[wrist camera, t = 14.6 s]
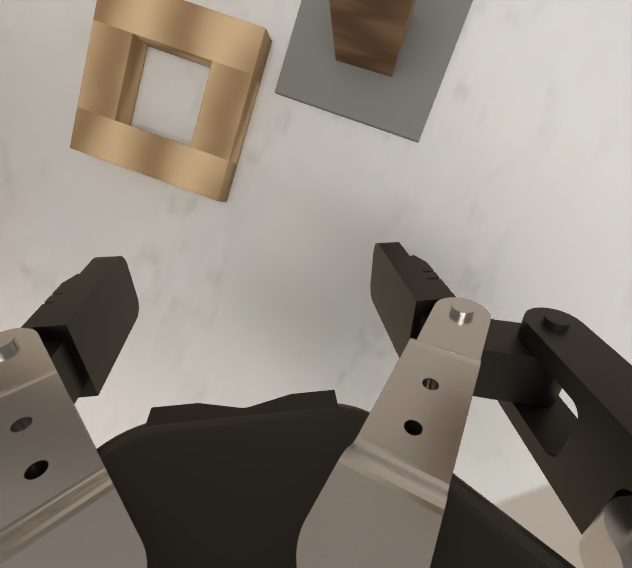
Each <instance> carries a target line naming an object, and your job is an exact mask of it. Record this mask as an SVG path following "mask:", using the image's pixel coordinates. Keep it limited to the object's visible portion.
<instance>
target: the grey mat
mask: <svg viewBox="0 0 632 568" xmlns="http://www.w3.org/2000/svg"><path fill="white" fill-rule="evenodd" d="M471 3H472V0H416V2H415V6H414V9H413V13H412V16H411V19H410V22H409V25H408V28H407V31H406V34H405V37H404V41H403V44H402V47H401V50H400V53H399V56H398V59H397V62H396V65H395V69H394V72H393V75H392V77H390V76H386V75H383V74H380V73H376V72H373V71H370V70H366V69H363V68H360V67H356V66H353V65H350V64H346V63H343V62H340V61H336V58H335V49H334V40H333V31H332V22H331V13H330V4H329V0H302V1H301V5H300V8H299V11H298V15H297V18H296V22H295V25H294V28H293V32H292V35H291V39H290V42H289V46H288V49H287V52H286V56H285V59H284V63H283V66H282V69H281V73H280V76H279V80H278V83H277V86H276V90H275V93H276V94H279V95H282V96H285V97H288V98H291V99H294V100H297V101H300V102H302V103H305V104H308V105H311V106H314V107H317V108H320V109H323V110H326V111H329V112H331V113H334V114H337V115H340V116H343V117H346V118H349V119H352V120H355V121H358V122H360V123H363V124H366V125H369V126H372V127H375V128H378V129H381V130H384V131H387V132H389V133H392V134H395V135H398V136H401V137H404V138H407V139H410V140H413V141H415V142H418V141H419V138H420V136H421V133H422V131H423V128H424V125H425V123H426V120H427V118H428V115H429V112H430V110H431V107H432V104H433V102H434V99H435V97H436V94H437V91H438V89H439V86H440V84H441V81H442V78H443V76H444V73H445V71H446V68H447V65H448V63H449V60H450V58H451V55H452V52H453V50H454V47H455V45H456V42H457V39H458V37H459V34H460V32H461V29H462V26H463V24H464V21H465V19H466V16H467V13H468V11H469V8H470V6H471Z"/></svg>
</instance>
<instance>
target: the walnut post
mask: <svg viewBox="0 0 632 568" xmlns="http://www.w3.org/2000/svg"><path fill="white" fill-rule="evenodd" d="M415 2H416V0H329V4H330V13H331V22H332V31H333V40H334V49H335V58H336V61H340V62H343V63H346V64H350V65H353V66H356V67H360V68H363V69H366V70H370V71H373V72H376V73H380V74H383V75H386V76H390V77H392V75H393V72H394V69H395V65H396V62H397V59H398V56H399V53H400V50H401V47H402V44H403V41H404V37H405V34H406V31H407V28H408V25H409V22H410V19H411V16H412V13H413V9H414V6H415Z"/></svg>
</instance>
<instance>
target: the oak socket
mask: <svg viewBox="0 0 632 568" xmlns="http://www.w3.org/2000/svg"><path fill="white" fill-rule="evenodd" d="M271 42H272V41H271V39H270V37H269V34H268V32H267V30H266V28H264V27H261V26H258V25H255V24H252V23H249V22H246V21H243V20H240V19H237V18H234V17H231V16H228V15H225V14H222V13H219V12H217V11H214V10H211V9H208V8H205V7H202V6H199V5H196V4H193V3H190V2H187V1H184V0H97V3H96V8H95V14H94V19H93V25H92V30H91V36H90V41H89V47H88V52H87V58H86V63H85V68H84V74H83V79H82V85H81V90H80V96H79V101H78V107H77V112H76V118H75V123H74V128H73V134H72V139H71V145H70V148H72V149H75V150H77V151H80V152H83V153H86V154H89V155H91V156H94V157H97V158H100V159H103V160H105V161H108V162H111V163H114V164H117V165H119V166H122V167H125V168H128V169H131V170H133V171H136V172H139V173H142V174H145V175H147V176H150V177H153V178H156V179H159V180H161V181H164V182H167V183H170V184H173V185H175V186H178V187H181V188H184V189H187V190H189V191H192V192H195V193H198V194H201V195H203V196H206V197H209V198H212V199H214V200H217V201H225V202H226V201H227V197H228V194H229V190H230V187H231V183H232V180H233V176H234V173H235V169H236V166H237V162H238V158H239V155H240V151H241V148H242V144H243V141H244V137H245V134H246V130H247V127H248V123H249V120H250V116H251V113H252V109H253V105H254V102H255V98H256V95H257V91H258V88H259V84H260V81H261V77H262V74H263V70H264V67H265V63H266V60H267V56H268V52H269V49H270V45H271ZM147 46H150V47H153V48H156V49H159V50H162V51H165V52H168V53H171V54H173V55H176V56H179V57H182V58H185V59H188V60H191V61H194V62H197V63H200V64H202V65H205V66H208V67H211V68H210V72H209V76H208V80H207V84H206V88H205V92H204V96H203V100H202V104H201V108H200V112H199V116H198V120H197V124H196V127H195V131H194V135H193V139H192V143H191V147H189V146H186V145H183V144H180V143H178V142H175V141H172V140H169V139H166V138H163V137H161V136H158V135H155V134H152V133H149V132H146V131H144V130H141V129H138V128H135V127H132V126H130V125H131V120H132V115H133V111H134V106H135V102H136V97H137V92H138V88H139V83H140V78H141V74H142V69H143V64H144V60H145V55H146V51H147Z"/></svg>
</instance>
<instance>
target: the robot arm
mask: <svg viewBox="0 0 632 568" xmlns="http://www.w3.org/2000/svg"><path fill="white" fill-rule="evenodd" d="M371 297H372V301H373V303H374V305H375V307H376V309H377V312H378V314H379V316H380V318H381V320H382V322H383V324H384V326H385V328H386V331H387V333H388V335H389V337H390V339H391V341H392V343H393V345H394V348H395V350H396V352H397V354H398V356H399V360H398V362H397V364H396V366H395V368H394V370H393V371H392V373H391V375H390V377H389V379H388V381H387V383H386V384H385V386H384V388H383V390H382V392H381V394H380V395H379V397H378V399H377V401H376V403H375V405H374V407H373V408H372V410H371V412H368V411H365V410H363V409H360V408H357V407H354V406H349V405H345V404H338V403H337V399H336V395H335V390H328V391H317V392H307V393H297V394H290V395H287V396H283V397H280V398H277V399H274V400H271V401H267V402H264V403H261V404H258V405H255V406H251V407H247V408H236V407H228V406H219V405H210V404H202V403H194V404H184V405H174V406H164V407H153V408H151V411H150V414H149V417H148V420H147V423H146V424H142V425H140V426H137V427H135V428H132V429H130V430H127V431H125V432H123V433H122V434H120V435H118V436H116V437H114V438H112V439H111V440H109V441H108V442H106V443H104V444H103V445H102V446H100V447H99V448H97V449H96V447H95V445H94V443H93V441H92V439H91V437H90V435H89V433H88V431H87V429H86V427H85V425H84V423H83V421H82V419H81V417H80V415H79V413H78V411H77V409H76V407H75V405H74V404H75V402H76V400H77V399H78V397H89V396H98V395H99V393H100V391H101V389H102V387H103V385H104V383H105V381H106V379H107V377H108V375H109V373H110V371H111V369H112V367H113V365H114V363H115V361H116V359H117V357H118V355H119V353H120V351H121V349H122V347H123V345H124V343H125V341H126V339H127V337H128V335H129V333H130V331H131V329H132V327H133V325H134V323H135V321H136V319H137V317H138V312H139V303H138V298H137V294H136V291H135V288H134V285H133V281H132V278H131V275H130V272H129V268H128V265H127V262H126V260H125V259H124V258H123V257H122V256H115V257H96V258H94V259H92V261H91V262H90V263H89V264H88V265H87V266H86V267H85V269H84V270H83V271H82V272H81V273H80V274H77V275H75V276H73V277H72V278H70V279H68V280H67V281H65V282H63V283H62V284H61V285H60V286H59V287H58V288H57V289H56V290H55V291H54V292H53V295H51V296H50V297H49V298H48V299H47V300H46V301H45V304H42V305H41V306H40V307H39V309H38V310H37V311H36V312H35V313H34V314H33V315H32V316H31V317H30V318H29V319H28V320H27V321H26V323H25V324H24V325H23V326H22V327H21V328H15V329H10V330H6V331H2V332H0V568H576V567H574V566H573V565H572V564H570V563H569V562H568V561H567V560H565V559H564V558H563V557H562V556H560V555H559V554H558V553H556V552H555V551H554V550H552V549H551V548H550V547H548V546H547V545H546V544H544V543H543V542H542V541H540V540H539V539H538V538H537V537H535V536H534V535H533V534H532V533H530V532H529V531H528V530H526V529H525V528H524V527H522V526H521V525H520V524H518V523H517V522H516V521H515V520H513V519H512V518H511V517H509V516H508V515H507V514H505V513H504V512H503V511H501V510H500V509H499V508H498V507H496V506H495V505H494V504H493V503H491V502H490V501H489V500H487V499H486V498H485V497H483V496H482V495H481V494H479V493H478V492H477V491H476V490H474V489H473V488H472V487H470V486H469V485H468V484H466V483H465V482H464V481H463V480H461V479H460V478H459V477H457V476H456V475H455V474H453V470H454V466H455V462H456V458H457V454H458V450H459V446H460V443H461V439H462V435H463V431H464V427H465V423H466V419H467V415H468V411H469V407H470V404H471V400H472V396H477V397H483V398H489V399H495V400H498V402H499V404H500V405H501V407H502V408H503V410H504V412H505V413H506V415H507V416H508V418H509V420H510V421H511V423H512V424H513V426H514V428H515V429H516V431H517V432H518V434H519V435H520V437H521V439H522V440H523V442H524V443H525V445H526V447H527V448H528V450H529V451H530V453H531V455H532V456H533V458H534V459H535V461H536V462H537V464H538V466H539V467H540V469H541V470H542V472H543V474H544V475H545V477H546V478H547V480H548V482H549V483H550V485H551V486H552V488H553V490H554V491H555V493H556V494H557V496H558V497H559V499H560V501H561V502H562V504H563V505H564V507H565V508H566V510H567V511H568V513H569V515H570V516H571V518H572V520H573V521H574V523H575V524H576V526H577V528H578V529H579V531H580V532H581V534H582V536H581V538H580V542H579V552H580V557H581V560H582V563H583V566H584V568H632V365H631V364H630V363H628V362H627V361H626V360H625V359H624V358H623V357H621V356H620V355H619V354H618V353H617V352H616V351H615V350H613V349H612V348H611V347H610V346H609V345H608V344H606V343H605V342H604V341H603V340H602V339H601V338H600V337H598V336H597V335H596V334H595V333H594V332H593V331H591V330H590V329H589V328H588V327H587V326H586V325H585V324H583V323H582V322H581V321H580V320H578V319H577V318H575V317H573V316H571V315H569V314H567V313H565V312H562V311H559V310H555V309H550V308H533V309H530V310H528V311H526V313H525V314H524V317H523V320H522V322H521V323H516V322H508V321H500V320H494V319H491V316H490V314H489V312H488V311H487V310H486V309H485V308H484V307H483V306H481V305H480V304H478V303H476V302H474V301H471V300H468V299H464V298H457V297H455V295H454V294H453V293H452V292H451V291H450V290H449V288H448V287H447V286H446V285H445V284H444V282H443V281H442V280H441V279H439V276H438V275H437V274H436V273H435V272H433V269H432V268H431V267H430V266H429V265H428V263H427V262H425V261H424V260H422V259H420V258H418V257H416V256H415V255H412V256H409V254H408V253H407V252H406V251H405V249H404V248H403V247H402V245H401V244H400V243H399V242H391V243H377V244H376V245H375V247H374V254H373V264H372V275H371ZM562 388H563V389H564V391H565V392H566V393H567V394H568V395H569V396H570V398H571V399H572V400H573V402H574V403H575V406H576V408H577V412H578V419H577V417H576V416H575V415H574V414H573V413H572V411H571V410H570V409H569V408H568V407H567V405H566V404H565V403H564V402H563V400H562V399H561V398H560V397H559V396H558V395H559V393H560V391H561V389H562Z"/></svg>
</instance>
